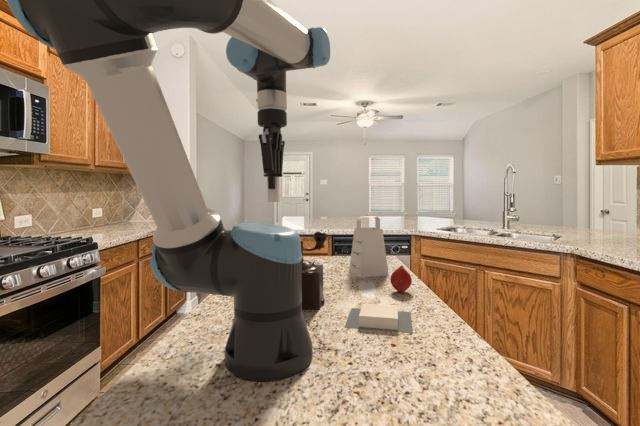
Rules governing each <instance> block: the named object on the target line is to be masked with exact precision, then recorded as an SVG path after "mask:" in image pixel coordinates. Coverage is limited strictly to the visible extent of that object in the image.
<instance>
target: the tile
mask: <svg viewBox="0 0 640 426" xmlns="http://www.w3.org/2000/svg"><path fill="white" fill-rule="evenodd" d="M398 308H399V306H398V305H394V304H393V305H392V304H377V303H362V305H361V307H360V309H361V311H360V314H359V327H367V328H380V329H392V330H398V311H399V309H398Z"/></svg>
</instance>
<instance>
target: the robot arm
mask: <svg viewBox="0 0 640 426" xmlns="http://www.w3.org/2000/svg"><path fill="white" fill-rule="evenodd" d="M5 1H6V3H7V6H8V7H9V9H10V11H11V13H12V14H13V16H14V18H15V19H16V21H17V22H18V23H19V24H20V26H21V27H22V28H23V29H24V30H25V31H26V32H27V33H28V34H29V35H30V36H31V37H32V36H33V37H35V38H37V39H38V41H39V42H40V44H41V43H42V44H43V45H44V46H46V47H49V48H51V49H54V51H55V52H56V54H57V56H58V58H59V59H60V62H61V64H62V66H63V68H64V69H66V70H68V71H69V72H71V73H74V74H76V75H77V76H79V77H81V78H82V79H83V80H84V81H85V83H86V85H87V87H88V89H89V90H90V92H91V95H92V97H93V99H94V101H95V103H96V105H97V107H98V109H99V111H100V113H101V115H102V118H103V119H104V121H105V124H106V125H107V128H108V129H109V132H110V133H111V136H112V138H113V141H114V142H115V144H116V147H117V148H118V151H119V152H120V154H121V156H122V159H123V160H124V162H125V164H126V166H127V168H128V171H129V172H130V175H131V177H132V179H133V180H134V183H135V184H136V187H137V189H138V191H139V193H140V195H141V197H142V199H143V201H144V203H145V205H146V208H147V209H148V211H149V213H150V215H151V218H152V219H153V221H154V224H155V226H156V229H155V231H154V233H152V234H153V235H152V241H153V243H152V245H151V248H150V253H151V254H152V256H151V257H150V258H149V261H150V263H149V264H150V268H151V270H152V273H153V275H154V276H155V279H157V281H158V282H159V283H160V284H162V286H165V287H166V288H168V289H170V290H176V291H179V292H182V293H194V294H195V293H196V294H202V295H203V294H206V295H213V296H223V297H224V296H225V297H232V298H233V311H234V313H233V315H234V316H233V322H232V324H231V326H230V327H231V328H230V330H229V334H228V337H227V340H226V345H225V347H224V366H225V368H226V370H227V371H228V373H230V374H231V375H233V376H235V377H237V378H239V379H243V380H248V381H256V382H257V381H258V382H261V381H262V382H268V381H275V380H276V381H277V380H281V379H284V378H289V377H292V376H294V375H297V374H298V373H299V372H302V371H304V369H306V368H307V367H308V366H309V365H310V364H311V362H312V360H313V341H312V337H311V336H310V333H309V329H308V326H307V323H306V321H305V318H304V314H303V310H302V258H303V259H304V256H303V257H302V253H301V241H302V240H301V237H300V234H299V233H298V231H295V230H294V229H293V228H291V227H288V226H285V225H279V224H273V223H267V222H266V223H265V222H239V223H236V224H234V225H233V227H232V229H226V228H225V227H224V224H223V222H222V219H221V216H220V214H219V212H217V210H213V209H211V208H208V206H207V203H206V202H205V199H204V196H203V194H202V191H201V189H200V186H199V184H198V181H197V179H196V176H195V173H194V171H193V167H192V166H191V165H192V164H191V163H190V160H189V157H188V155H187V153H186V151H185V148H184V145H183V143H182V139H181V137H180V134H179V132H178V130H177V129H178V128H177V127H176V124H175V122H174V119H173V117H172V113H171V111H170V109H169V106H168V103H167V101H166V98H165V96H164V93H163V91H162V88H161V86H160V83H159V81H158V77H157V75H156V72H155V70H154V68H153V61H154V58H155V56H156V54H157V52H158V51H159V50H158V46H157V44H156V43H157V42H156V41H155V38H154V35H153V34H154V33H157V32H161V31H168V30H174V29H177V30H178V29H197V30H198V31H201V32H203V33H206V34H210V35H211V34H212V35H216V34H217V35H218V34H220V33H224V34H225V35H228V36H230V38H229V40H228V42H227V44H226V48H225V53H226V55H225V56H226V59H227V60H228V62H229V64H230V65H231V66H233V67H234V68H236V70H237V71H239V72H240V73H242V74H245V75H246V76H248V77H250V78H251V79H253V80H255V81H256V92H257V94H256V95H257V96H256V97H257V98H255V102H256V104H257V109H258V111H257V112H256V114H257V126H258V127H260V128H262V133H261V134H258V139H259V140H258V141H259V143H260V150H261V151H260V152H261V161H262V162H261V163H262V171H263V177H264V178H267V183H266V184H267V202H268V203H279V202H280V178H282V177H283V168H284V167H283V163H284V152H285V151H284V150H285V149H284V148H285V144H286V142H285V140H283V135H282V134H283V133H282V132H281V129H282V128H285V127H287V125H288V120H287V119H288V118H287V116H288V114H287V112H286V111H287V109H288V107H287V106H288V103H287V102H288V100H287V72H290V71H298V70H303V69H304V70H306V69H315V68H318V67H323V66H326V65H327V64H329V62H330V59H331V43H330V37H329V35H328V32H327V30H326V29H325V28H324V27H321V26H319V27H310V28H305V27H304V26H303V25H302V24H301V23H299V22H298V21H297V20H295V19H294V18H293V17H292V16H291V15H289V13H287V12H286V11H285V10H283V9H282V8H281V7H280V6H279V5H277V4H276V3H275V2H273V1H272V0H5Z"/></svg>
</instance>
